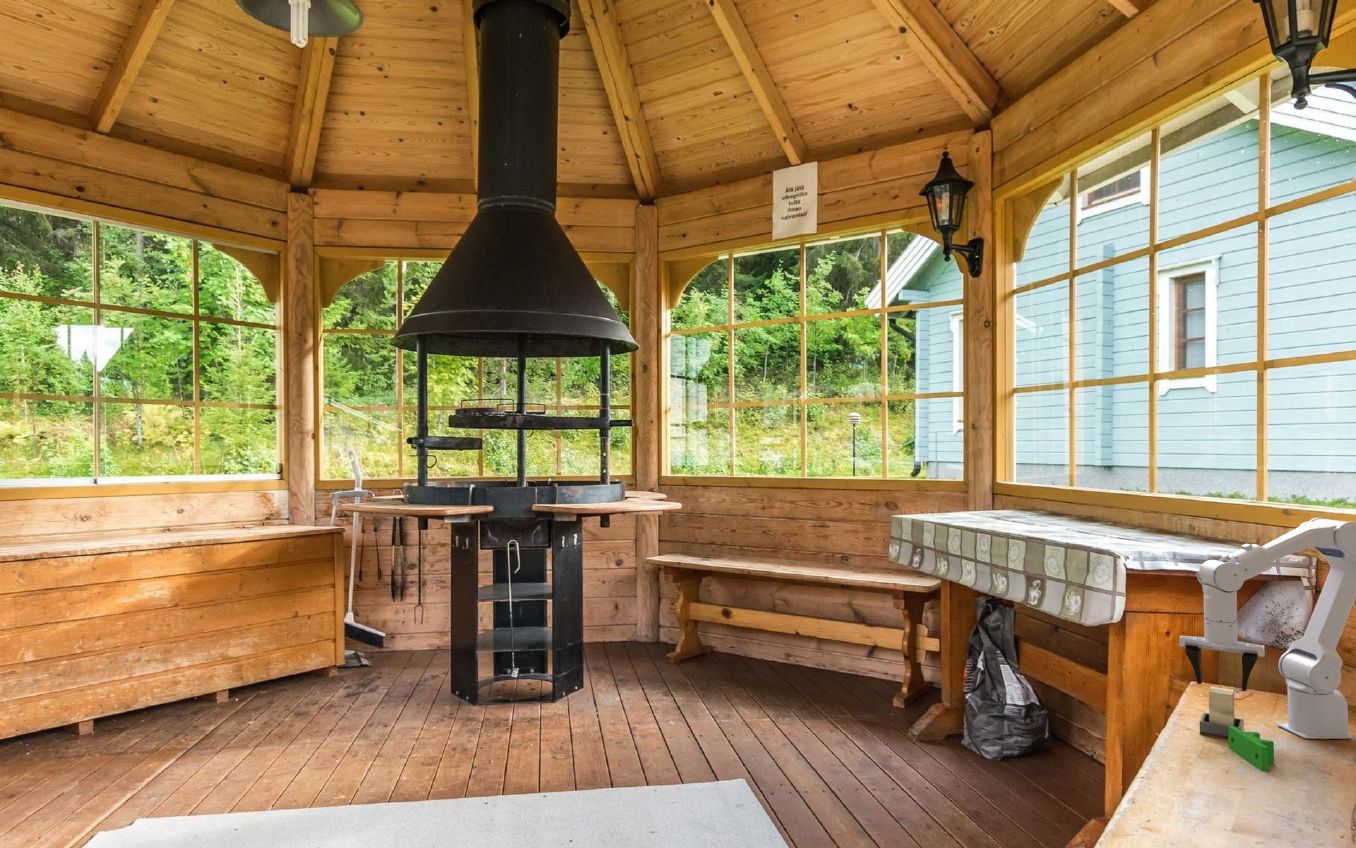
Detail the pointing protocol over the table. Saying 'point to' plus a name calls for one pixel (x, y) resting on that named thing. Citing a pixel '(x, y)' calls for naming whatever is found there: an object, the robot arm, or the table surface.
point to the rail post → (1221, 706)
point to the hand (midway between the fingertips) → (1221, 686)
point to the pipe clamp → (1251, 748)
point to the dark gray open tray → (1217, 727)
